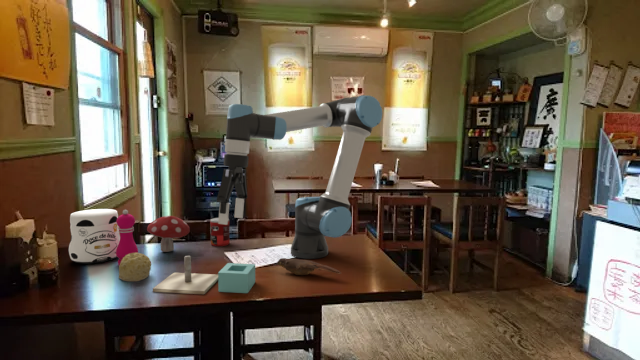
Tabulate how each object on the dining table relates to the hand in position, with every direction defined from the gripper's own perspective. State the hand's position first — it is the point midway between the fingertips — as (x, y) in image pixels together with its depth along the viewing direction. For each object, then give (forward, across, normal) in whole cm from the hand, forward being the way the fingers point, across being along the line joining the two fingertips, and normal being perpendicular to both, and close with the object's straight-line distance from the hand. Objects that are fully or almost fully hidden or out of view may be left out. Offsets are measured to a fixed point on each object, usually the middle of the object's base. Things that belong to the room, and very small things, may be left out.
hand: (231, 220), depth 125 cm
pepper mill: (+23, -11, -42) cm, 49 cm away
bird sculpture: (+18, -11, +24) cm, 32 cm away
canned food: (+19, -42, -20) cm, 50 cm away
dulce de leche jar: (+24, -14, -56) cm, 62 cm away
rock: (+23, 0, -31) cm, 39 cm away
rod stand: (+21, +3, -11) cm, 24 cm away
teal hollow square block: (+20, +2, +5) cm, 21 cm away
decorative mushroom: (+21, -28, -35) cm, 49 cm away
